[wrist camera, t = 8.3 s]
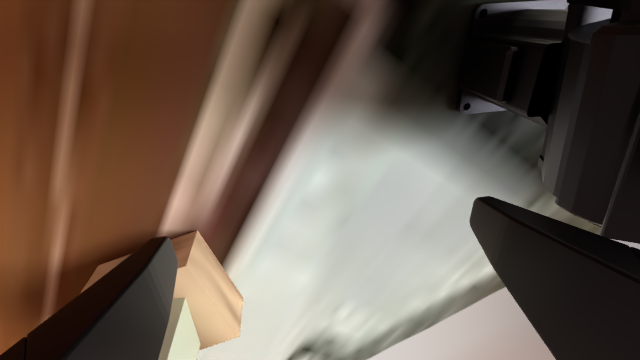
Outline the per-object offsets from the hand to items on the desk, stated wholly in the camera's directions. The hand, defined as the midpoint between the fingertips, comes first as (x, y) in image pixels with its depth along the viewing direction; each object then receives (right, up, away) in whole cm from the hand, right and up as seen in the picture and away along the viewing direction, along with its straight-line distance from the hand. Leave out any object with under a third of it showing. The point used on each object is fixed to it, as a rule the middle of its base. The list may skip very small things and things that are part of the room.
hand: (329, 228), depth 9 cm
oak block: (-12, -7, +17) cm, 22 cm away
